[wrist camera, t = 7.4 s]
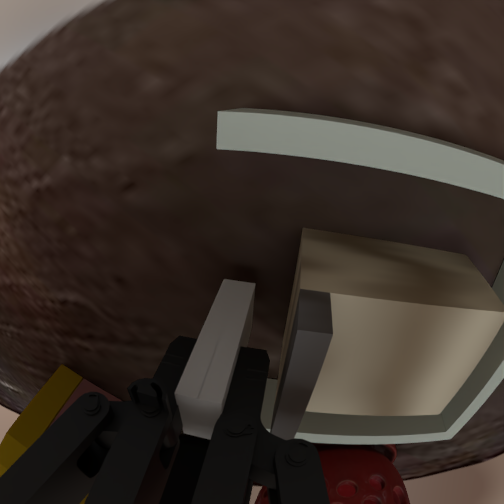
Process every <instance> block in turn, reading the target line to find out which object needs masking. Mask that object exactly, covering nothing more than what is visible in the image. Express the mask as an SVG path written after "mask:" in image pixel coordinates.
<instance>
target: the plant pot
mask: <svg viewBox="0 0 504 504" xmlns="http://www.w3.org/2000/svg"><path fill="white" fill-rule="evenodd" d="M311 443H312V444H313V445H314V446H315V447H316V449H317V451H318V453H319V456H320V461H321V465H322V470H323V474H324V478H325V483H326V487H327V492H328V496H329V501H330V504H410V502H409V498H408V494H407V491H406V488H405V485H404V483H403V480H402V478H401V476H400V474H399V473H398V471H397V470H396V468H395V467H394V465H393V464H392V463H393V462H394V460H395V459H396V455H397V451H396V447H395V445H394V444H329V443H313V442H311ZM255 504H269V501H268V493H267V487H266V486H264V485H263V487H262V489H261V490H260V492H259V494H258V497H257V499H256V501H255Z"/></svg>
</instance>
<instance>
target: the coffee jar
mask: <svg viewBox="0 0 504 504" xmlns="http://www.w3.org/2000/svg"><path fill="white" fill-rule="evenodd" d="M179 440H180V445H179V449H178V452H177V454H176V457H175V460H174V463H173V466H172V468H171V471H170V474H169V477H168V480H167V483H166V485H165V488H164V491H163V494H162V497H161V499H160V502H159V504H191V502H192V499H193V496H194V492H195V489H196V486H197V482H198V479H199V476H200V473H201V469H202V466H203V463H204V459H205V456H206V453H207V449H208V446H209V443H210V441H207V440H203V439H197V438H190V437H179ZM252 486H253V480H251V479H248V484H247V489H246V493H245V498H244V503H243V504H249V501H250V496H251V491H252Z"/></svg>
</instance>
